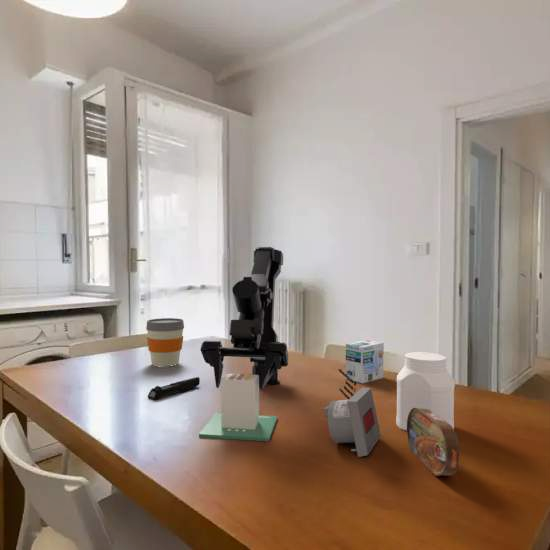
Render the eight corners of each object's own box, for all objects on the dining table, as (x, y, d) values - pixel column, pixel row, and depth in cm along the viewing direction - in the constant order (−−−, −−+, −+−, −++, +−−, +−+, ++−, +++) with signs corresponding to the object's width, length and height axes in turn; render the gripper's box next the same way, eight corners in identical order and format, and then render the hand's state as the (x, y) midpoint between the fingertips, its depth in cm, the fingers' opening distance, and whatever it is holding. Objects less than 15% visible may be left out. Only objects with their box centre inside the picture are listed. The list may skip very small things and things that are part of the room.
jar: (460, 427, 88) (461, 356, 88) (443, 441, 81) (444, 364, 80) (408, 413, 96) (408, 349, 95) (388, 425, 88) (389, 355, 88)
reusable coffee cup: (167, 358, 151) (167, 317, 151) (191, 363, 144) (191, 320, 144) (138, 364, 141) (138, 320, 141) (162, 370, 134) (162, 324, 134)
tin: (405, 444, 79) (405, 400, 79) (420, 444, 79) (421, 400, 79) (443, 486, 64) (444, 432, 64) (463, 486, 64) (463, 432, 64)
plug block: (226, 419, 90) (226, 372, 90) (258, 421, 89) (258, 374, 89) (221, 427, 85) (221, 378, 85) (254, 429, 85) (255, 379, 84)
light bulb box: (362, 384, 119) (363, 346, 119) (344, 379, 125) (344, 343, 124) (384, 377, 127) (384, 342, 126) (366, 373, 132) (366, 339, 131)
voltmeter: (397, 457, 74) (397, 402, 74) (334, 461, 72) (335, 404, 72) (350, 407, 100) (351, 366, 100) (304, 409, 99) (304, 367, 99)
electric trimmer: (203, 388, 116) (203, 377, 116) (155, 401, 104) (155, 389, 104) (194, 386, 118) (194, 375, 118) (146, 398, 106) (146, 386, 106)
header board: (215, 415, 94) (215, 399, 94) (277, 418, 92) (277, 402, 92) (198, 436, 82) (198, 418, 82) (268, 441, 80) (269, 422, 80)
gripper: (203, 304, 92) (185, 365, 81) (287, 305, 89) (280, 369, 79) (213, 333, 100) (198, 393, 89) (290, 335, 97) (285, 397, 87)
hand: (238, 388), depth 86 cm, fingers open, 9 cm apart
